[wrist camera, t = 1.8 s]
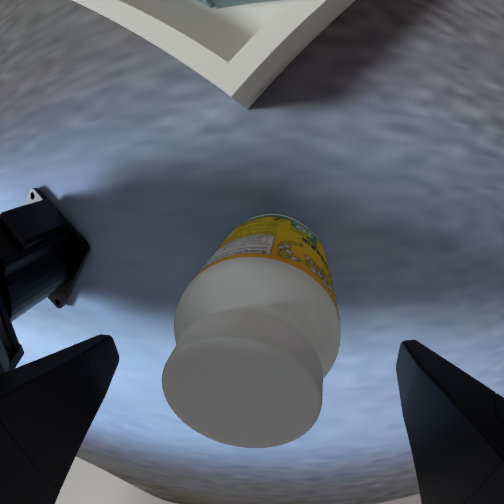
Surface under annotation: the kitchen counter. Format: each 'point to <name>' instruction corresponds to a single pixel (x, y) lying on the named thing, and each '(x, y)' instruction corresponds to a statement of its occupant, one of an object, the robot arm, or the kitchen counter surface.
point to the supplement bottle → (255, 336)
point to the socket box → (227, 35)
